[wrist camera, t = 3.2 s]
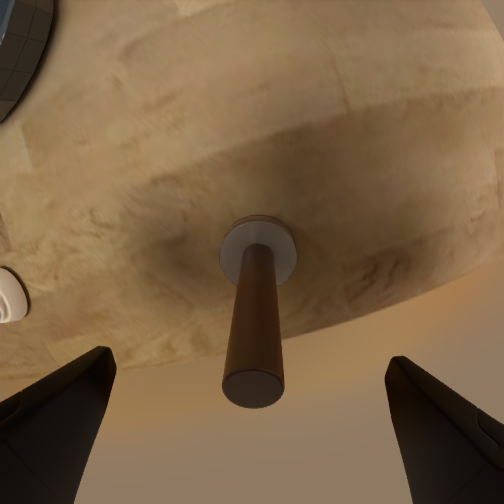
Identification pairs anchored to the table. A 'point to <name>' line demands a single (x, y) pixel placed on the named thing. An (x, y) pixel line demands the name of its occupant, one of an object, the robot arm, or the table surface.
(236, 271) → the wooden dowel with disc
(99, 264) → the table surface
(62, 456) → the robot arm
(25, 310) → the lidless jar
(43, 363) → the table surface
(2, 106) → the bowl
